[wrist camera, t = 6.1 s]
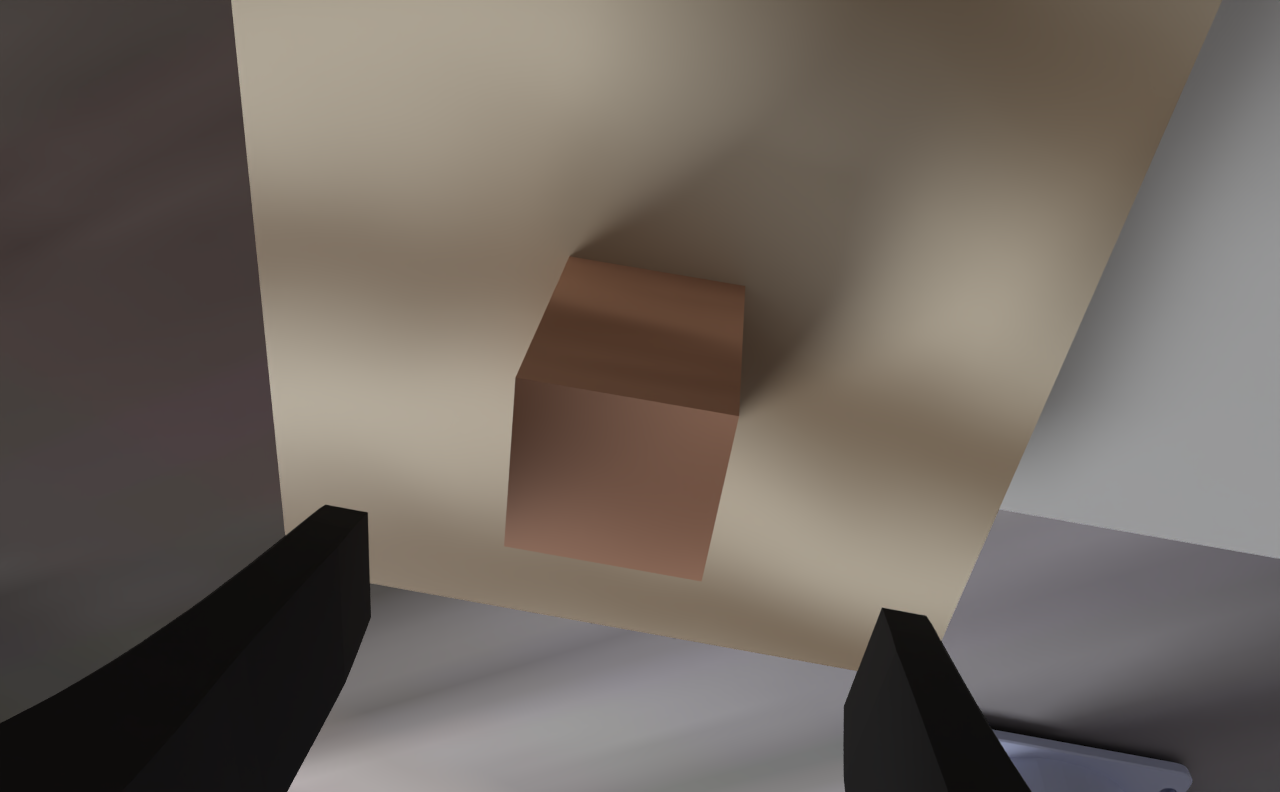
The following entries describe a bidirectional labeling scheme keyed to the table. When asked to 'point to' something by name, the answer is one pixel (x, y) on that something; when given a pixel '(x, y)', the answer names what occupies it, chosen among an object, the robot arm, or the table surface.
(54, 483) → the table surface
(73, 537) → the table surface
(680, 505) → the lid
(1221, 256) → the mat
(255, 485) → the table surface
